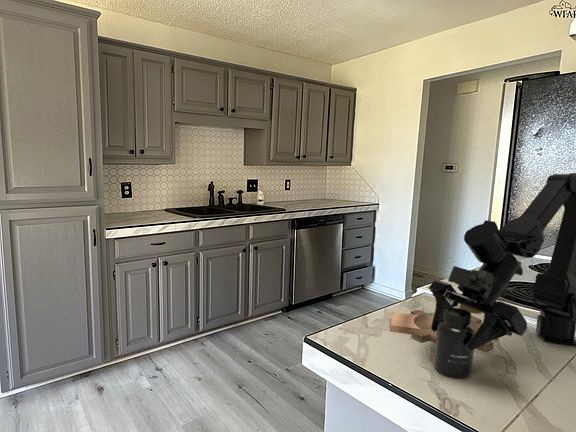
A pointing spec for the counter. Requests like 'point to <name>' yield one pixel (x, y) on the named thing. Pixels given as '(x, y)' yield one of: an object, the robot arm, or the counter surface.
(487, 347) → the sprocket plate
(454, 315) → the supplement bottle
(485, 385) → the counter surface
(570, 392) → the counter surface
